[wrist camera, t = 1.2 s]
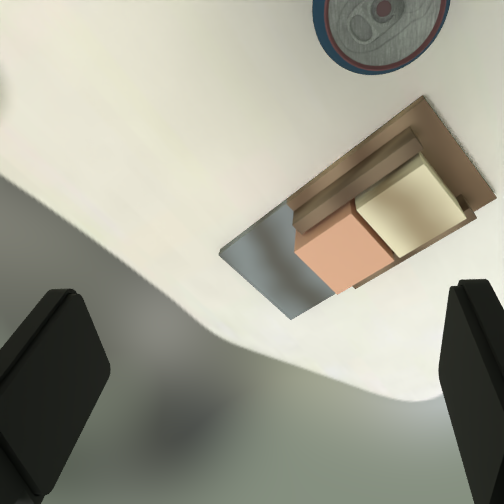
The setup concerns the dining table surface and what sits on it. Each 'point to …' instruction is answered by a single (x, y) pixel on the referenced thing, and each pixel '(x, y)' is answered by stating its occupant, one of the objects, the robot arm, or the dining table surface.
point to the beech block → (409, 206)
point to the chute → (342, 191)
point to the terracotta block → (343, 248)
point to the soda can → (377, 31)
